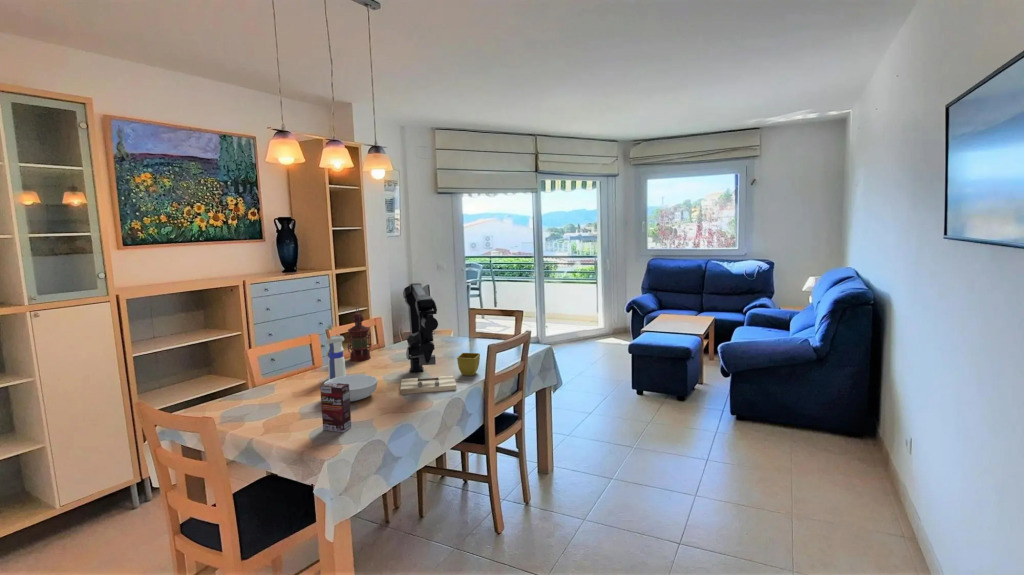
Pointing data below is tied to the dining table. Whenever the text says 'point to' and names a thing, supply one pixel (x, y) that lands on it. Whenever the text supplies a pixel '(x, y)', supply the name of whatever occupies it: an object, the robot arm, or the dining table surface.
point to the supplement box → (335, 407)
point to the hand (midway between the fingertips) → (427, 361)
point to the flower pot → (468, 363)
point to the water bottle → (335, 356)
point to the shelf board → (428, 384)
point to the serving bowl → (357, 385)
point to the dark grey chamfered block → (423, 361)
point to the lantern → (359, 339)
